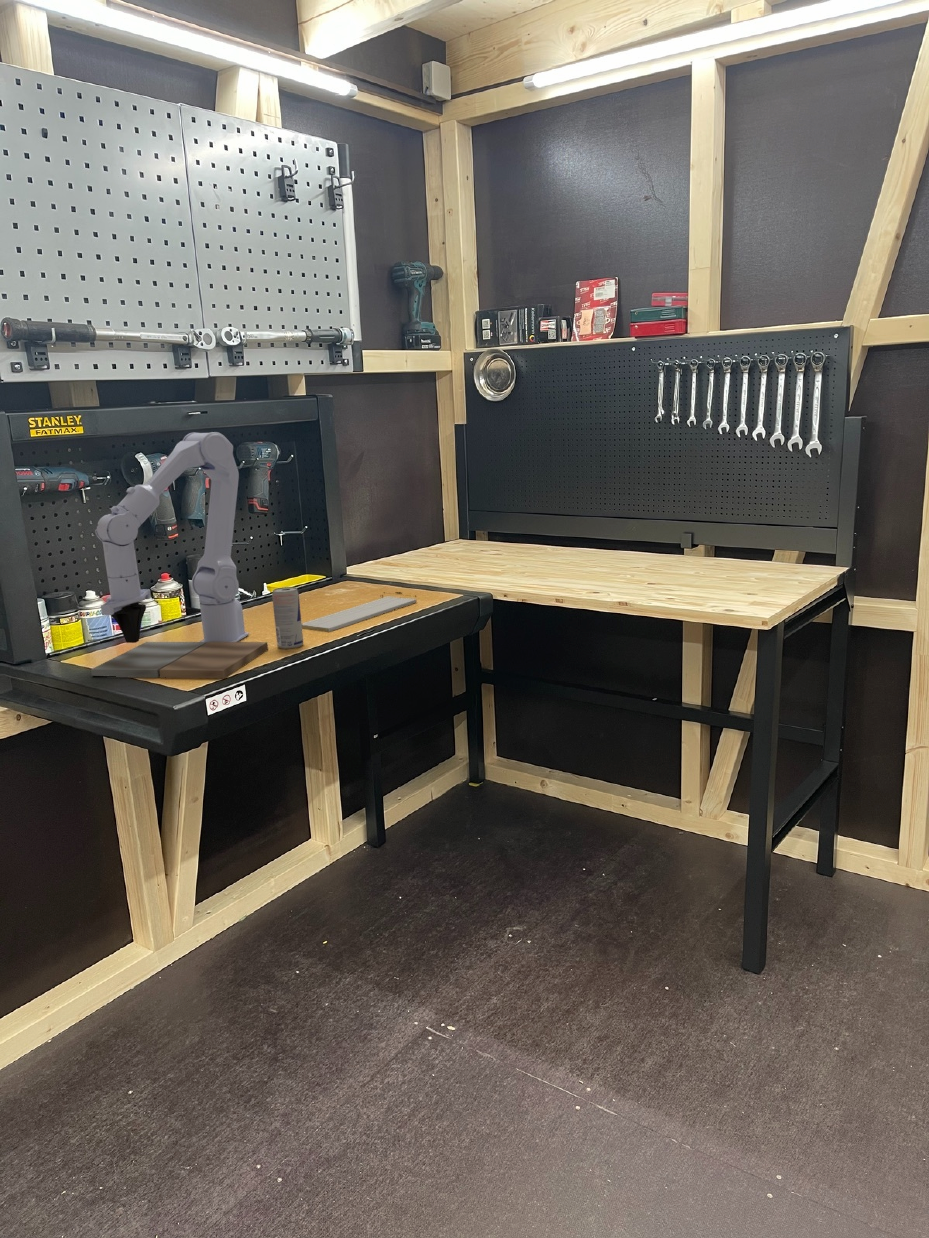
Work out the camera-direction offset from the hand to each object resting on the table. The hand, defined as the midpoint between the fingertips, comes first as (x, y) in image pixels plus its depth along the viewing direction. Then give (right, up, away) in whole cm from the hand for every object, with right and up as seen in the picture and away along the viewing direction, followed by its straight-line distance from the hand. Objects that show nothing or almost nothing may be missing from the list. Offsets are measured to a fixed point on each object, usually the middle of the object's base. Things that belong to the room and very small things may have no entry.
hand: (132, 641), depth 184 cm
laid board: (+18, -4, -3) cm, 18 cm away
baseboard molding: (+41, +5, +33) cm, 53 cm away
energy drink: (+30, -1, +7) cm, 31 cm away
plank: (+4, -4, 0) cm, 6 cm away
